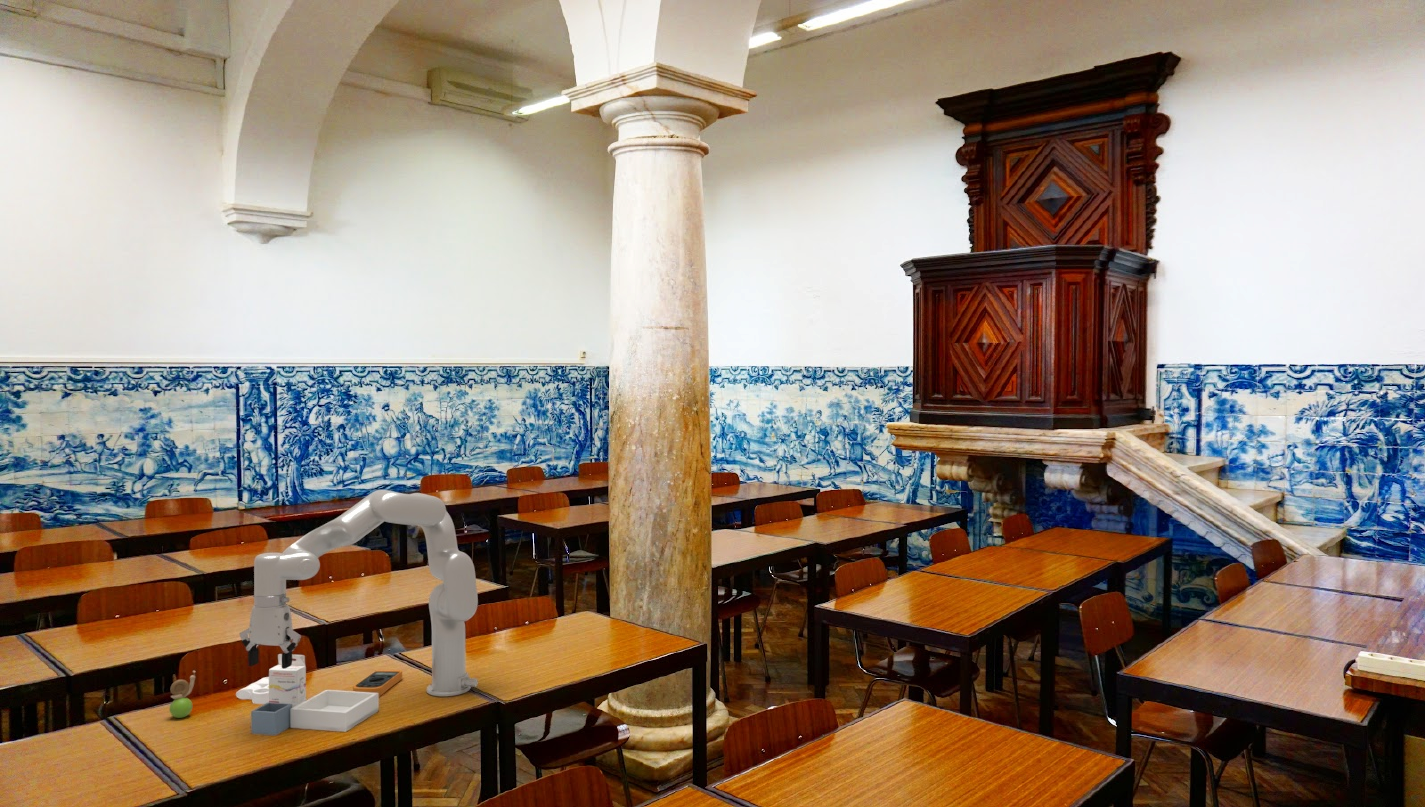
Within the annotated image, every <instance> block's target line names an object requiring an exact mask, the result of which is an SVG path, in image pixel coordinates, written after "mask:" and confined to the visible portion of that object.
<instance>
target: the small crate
mask: <svg viewBox="0 0 1425 807" xmlns="http://www.w3.org/2000/svg"><path fill="white" fill-rule="evenodd" d="M291 708H292V704H288V703H273V702H268V703H266V704H261V705H260V706H259V707H257V708H254V709H253V710H251V711H250V731H251V733H250V734H253V735H265V736H278V735H279V734H281V733H283V732H284V731H286V730H288V729H290V728H291V720H290V709H291Z"/></svg>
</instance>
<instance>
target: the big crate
mask: <svg viewBox="0 0 1425 807" xmlns="http://www.w3.org/2000/svg"><path fill="white" fill-rule="evenodd" d="M379 698H380V696H379V693H371V692H355V691H353V690H352V691H351V690H339V689H338V690H337V689H325V690H323V691H321V692H320V693H318V694H316V695H314V696H311V697H309V698H308V699H306V701H304V702H302V703H301V704H299V705H297V706H295V707H293V708H291V709H290V720H291V727H290V728H291V729H301V730H315V731H316V730H317V731H328V732H329V731H330V732H344V733H346V732H347V731H350V730H351V729H353V728H354V727H356V726H357V725H359V724H360V723H362V722H364V721H365V720H367V719H368V718H370V717H372V716H373V715H374V714H377V712H379V707H380V706H379V704H380V703H379V702H380V700H379Z"/></svg>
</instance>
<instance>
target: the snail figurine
mask: <svg viewBox="0 0 1425 807" xmlns="http://www.w3.org/2000/svg"><path fill="white" fill-rule="evenodd" d="M192 673H193V674H192V675H190V676H189V682H188V681H187V680H186V679H182V678H181V679H177V680H175V681H173V683H172V684H171V686H170V693H171V694H172V695H170V698H172V699H173V701H172V702H171V703H170V705H169V712H170V714H171V716H172V717H174V718H177V719H183V718H185V717H187V716H188V715H190V713H191V712H192V710H193V702H192V700H190V699H189V698H188V697H187V696H189V695H190V694H191V693H192V691H193V689H194V685H195V680H196V670H192Z"/></svg>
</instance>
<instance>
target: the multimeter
mask: <svg viewBox="0 0 1425 807" xmlns="http://www.w3.org/2000/svg"><path fill="white" fill-rule="evenodd" d="M402 679H403V671H402V670H400V669H382V668H381V669H377V670H374V671H373V672H372V673H370V674H369V675H368V676H366V677H365V678H364V679H362V680H360V681H359V682H357V683H356V684H355V685H353V686H352V691H355V692H371V693H379V697H381V696H382V695H384V694H385V693H386V692H387V691H388V690H389V689H391V688H392V687H394V686H395V685H396V684H397V683H399V682H401V681H402Z"/></svg>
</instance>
